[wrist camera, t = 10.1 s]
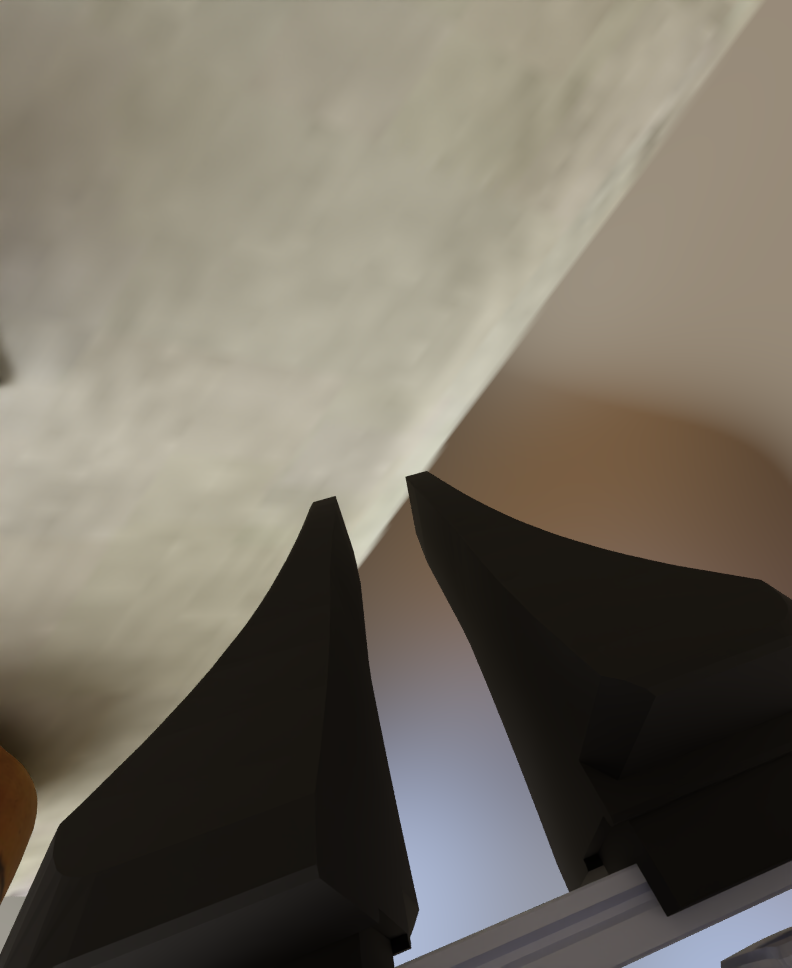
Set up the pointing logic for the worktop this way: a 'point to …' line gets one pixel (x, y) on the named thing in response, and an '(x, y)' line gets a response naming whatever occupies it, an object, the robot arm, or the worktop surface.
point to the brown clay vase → (14, 816)
